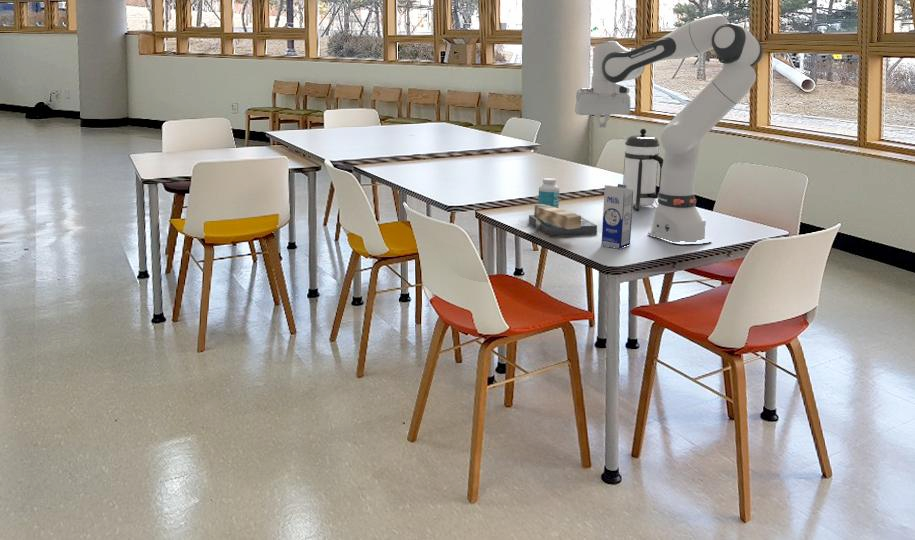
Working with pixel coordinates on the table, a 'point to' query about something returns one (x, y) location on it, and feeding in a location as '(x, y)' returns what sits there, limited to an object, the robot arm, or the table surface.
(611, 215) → the milk carton
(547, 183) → the pill bottle
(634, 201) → the coffee press
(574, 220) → the tan bar
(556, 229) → the panel
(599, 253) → the table surface
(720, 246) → the table surface
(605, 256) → the table surface
